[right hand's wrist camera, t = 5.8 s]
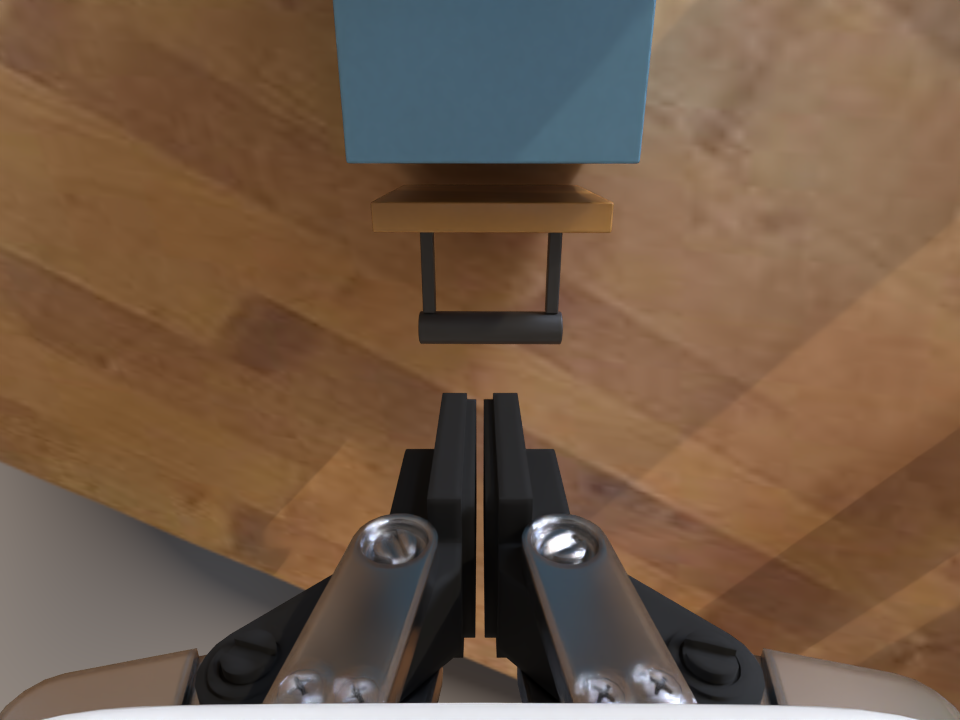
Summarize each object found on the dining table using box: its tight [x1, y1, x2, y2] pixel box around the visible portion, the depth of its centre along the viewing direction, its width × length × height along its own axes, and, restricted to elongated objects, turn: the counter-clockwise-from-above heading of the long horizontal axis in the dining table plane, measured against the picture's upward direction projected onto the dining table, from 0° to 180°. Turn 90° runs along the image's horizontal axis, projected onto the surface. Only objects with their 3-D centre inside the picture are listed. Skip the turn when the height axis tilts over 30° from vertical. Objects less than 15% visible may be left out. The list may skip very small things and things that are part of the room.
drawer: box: [371, 185, 614, 344], centre depth 25 cm, size 23×10×9 cm, turn 0°
